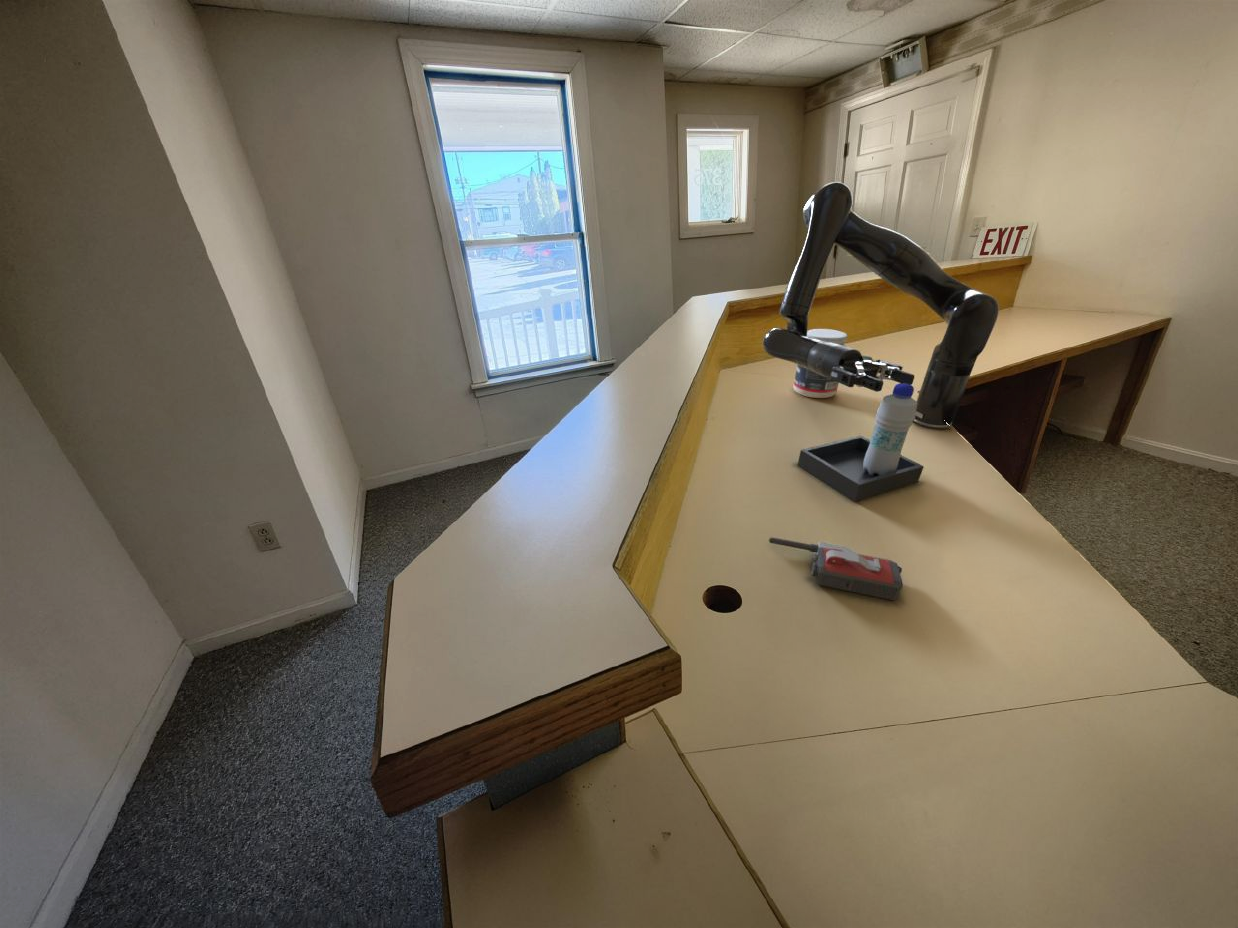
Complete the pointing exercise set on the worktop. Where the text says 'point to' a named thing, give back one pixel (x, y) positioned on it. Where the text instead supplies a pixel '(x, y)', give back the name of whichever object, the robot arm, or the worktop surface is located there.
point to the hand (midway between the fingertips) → (897, 383)
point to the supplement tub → (811, 381)
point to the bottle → (890, 430)
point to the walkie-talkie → (851, 569)
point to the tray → (855, 469)
